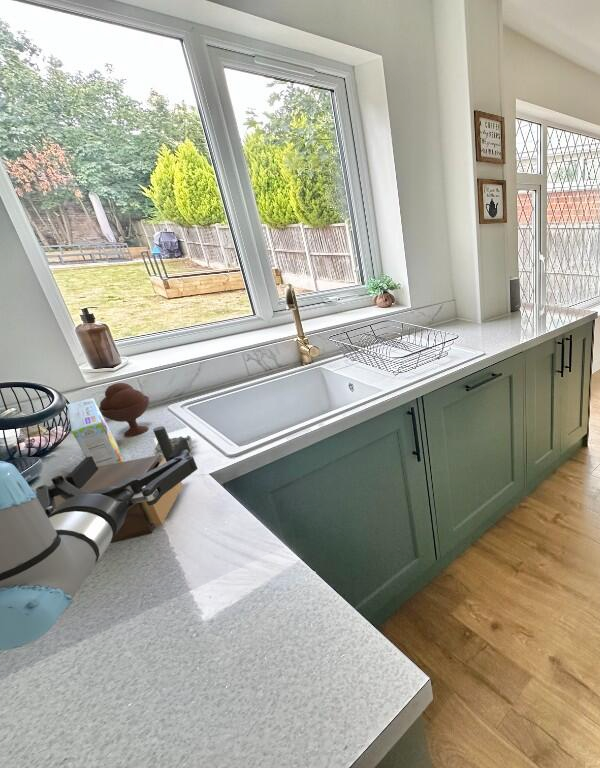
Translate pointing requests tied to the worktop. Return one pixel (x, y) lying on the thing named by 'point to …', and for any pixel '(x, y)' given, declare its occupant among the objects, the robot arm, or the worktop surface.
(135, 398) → the ice cream bowl
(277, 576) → the worktop surface
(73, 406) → the snack box
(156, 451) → the grey rock
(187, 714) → the worktop surface
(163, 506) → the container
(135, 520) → the storage box
